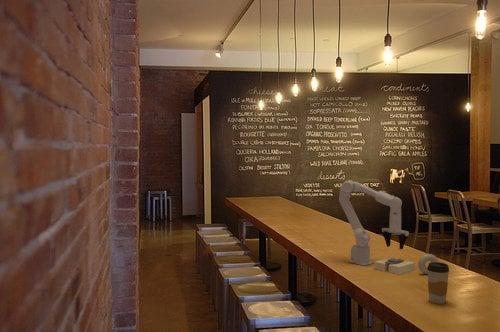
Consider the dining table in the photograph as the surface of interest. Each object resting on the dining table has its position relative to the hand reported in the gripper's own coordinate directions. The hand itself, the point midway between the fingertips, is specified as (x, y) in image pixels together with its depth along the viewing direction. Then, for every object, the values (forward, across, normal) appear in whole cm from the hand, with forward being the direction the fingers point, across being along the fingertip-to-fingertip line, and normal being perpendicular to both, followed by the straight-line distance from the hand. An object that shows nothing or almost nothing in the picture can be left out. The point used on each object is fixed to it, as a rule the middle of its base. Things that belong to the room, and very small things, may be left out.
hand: (394, 247), depth 264 cm
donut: (+10, +20, -2) cm, 22 cm away
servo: (+10, +4, -6) cm, 12 cm away
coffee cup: (+10, +44, -37) cm, 58 cm away
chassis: (+9, +4, -6) cm, 12 cm away
